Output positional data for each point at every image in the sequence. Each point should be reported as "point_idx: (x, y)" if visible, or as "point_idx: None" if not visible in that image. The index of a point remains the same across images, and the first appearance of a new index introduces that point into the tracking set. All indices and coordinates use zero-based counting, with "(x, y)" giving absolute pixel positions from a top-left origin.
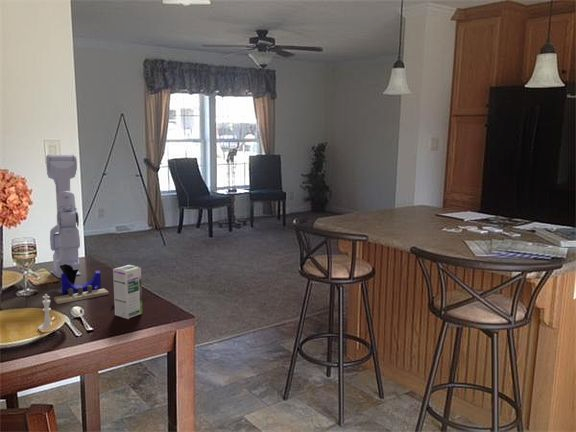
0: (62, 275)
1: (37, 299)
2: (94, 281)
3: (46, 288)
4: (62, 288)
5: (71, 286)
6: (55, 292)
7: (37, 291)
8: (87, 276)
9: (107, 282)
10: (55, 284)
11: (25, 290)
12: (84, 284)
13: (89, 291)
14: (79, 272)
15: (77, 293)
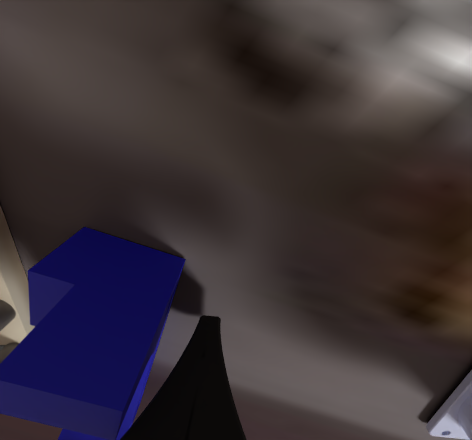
0: (30, 396)
1: (53, 4)
2: (60, 435)
3: (339, 204)
4: (42, 260)
5: (35, 321)
6: (187, 217)
7: (316, 109)
8: (368, 429)
9: None
10: (380, 285)
11: (457, 8)
12: (139, 383)
13: (1, 351)
14: (451, 437)
15: (4, 297)
